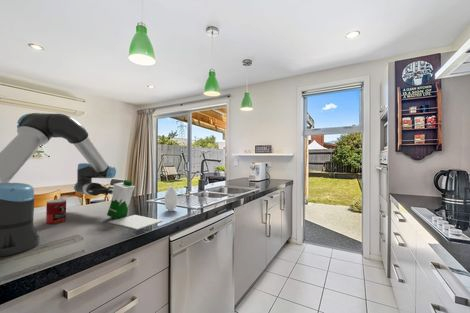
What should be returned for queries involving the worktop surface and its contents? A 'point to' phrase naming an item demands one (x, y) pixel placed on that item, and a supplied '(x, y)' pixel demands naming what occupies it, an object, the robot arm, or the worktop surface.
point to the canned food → (56, 211)
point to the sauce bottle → (170, 199)
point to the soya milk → (121, 199)
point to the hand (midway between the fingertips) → (116, 192)
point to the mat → (135, 222)
